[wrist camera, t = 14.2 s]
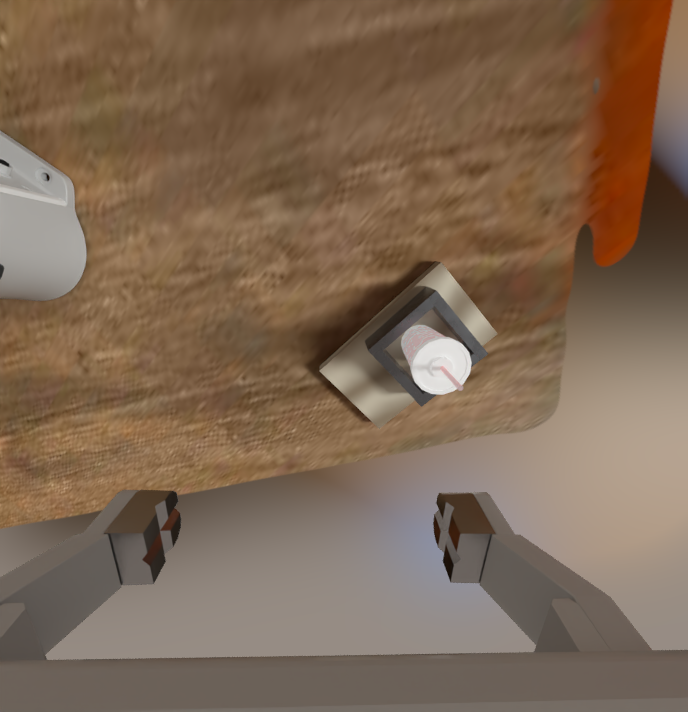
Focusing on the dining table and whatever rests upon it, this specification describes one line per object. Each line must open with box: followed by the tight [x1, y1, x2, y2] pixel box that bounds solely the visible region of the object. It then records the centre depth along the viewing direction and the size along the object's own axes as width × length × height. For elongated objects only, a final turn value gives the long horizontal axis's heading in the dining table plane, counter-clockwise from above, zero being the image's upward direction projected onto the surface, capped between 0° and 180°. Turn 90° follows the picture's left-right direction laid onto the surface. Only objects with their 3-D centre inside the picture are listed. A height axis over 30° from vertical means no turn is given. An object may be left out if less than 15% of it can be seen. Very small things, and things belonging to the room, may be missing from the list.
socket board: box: [319, 261, 497, 429], centre depth 43 cm, size 12×20×2 cm, turn 133°
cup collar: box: [365, 286, 488, 407], centre depth 39 cm, size 10×10×4 cm
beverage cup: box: [401, 325, 472, 394], centre depth 35 cm, size 6×6×14 cm
